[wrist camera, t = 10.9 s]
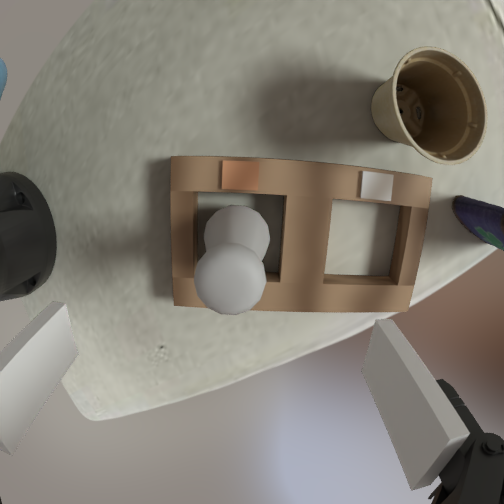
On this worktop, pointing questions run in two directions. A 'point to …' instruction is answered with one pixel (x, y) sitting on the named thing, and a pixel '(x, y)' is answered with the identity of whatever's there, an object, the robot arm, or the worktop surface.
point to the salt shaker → (233, 260)
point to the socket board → (303, 229)
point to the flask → (481, 219)
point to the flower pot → (433, 106)
